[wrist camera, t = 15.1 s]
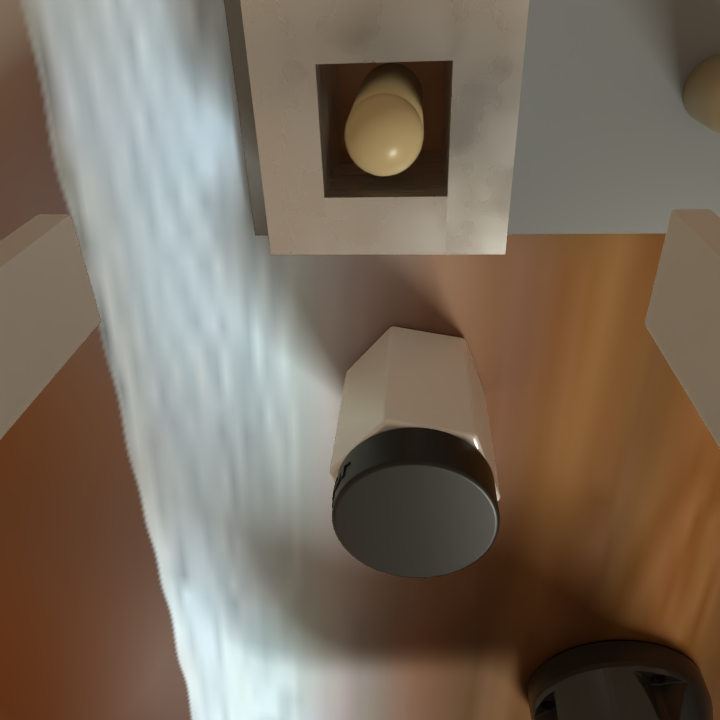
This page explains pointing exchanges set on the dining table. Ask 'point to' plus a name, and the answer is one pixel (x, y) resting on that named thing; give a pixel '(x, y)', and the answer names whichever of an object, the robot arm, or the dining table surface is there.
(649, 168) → the post board
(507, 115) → the collar
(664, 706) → the robot arm
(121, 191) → the dining table surface
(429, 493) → the jar
